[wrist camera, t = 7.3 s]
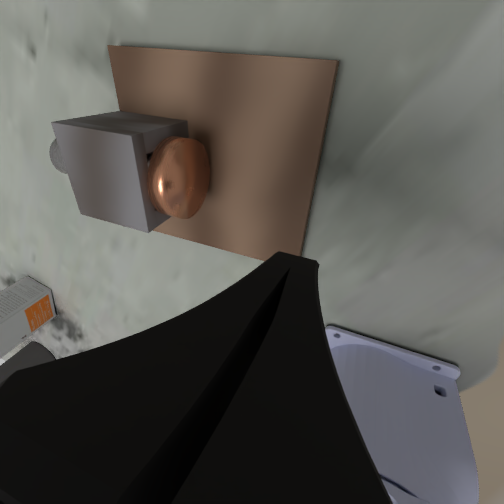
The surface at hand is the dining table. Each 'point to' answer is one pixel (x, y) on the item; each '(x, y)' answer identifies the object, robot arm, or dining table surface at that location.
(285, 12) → the dining table surface
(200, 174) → the shaft
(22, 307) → the skincare box
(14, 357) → the bottle
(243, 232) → the stand
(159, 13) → the dining table surface
